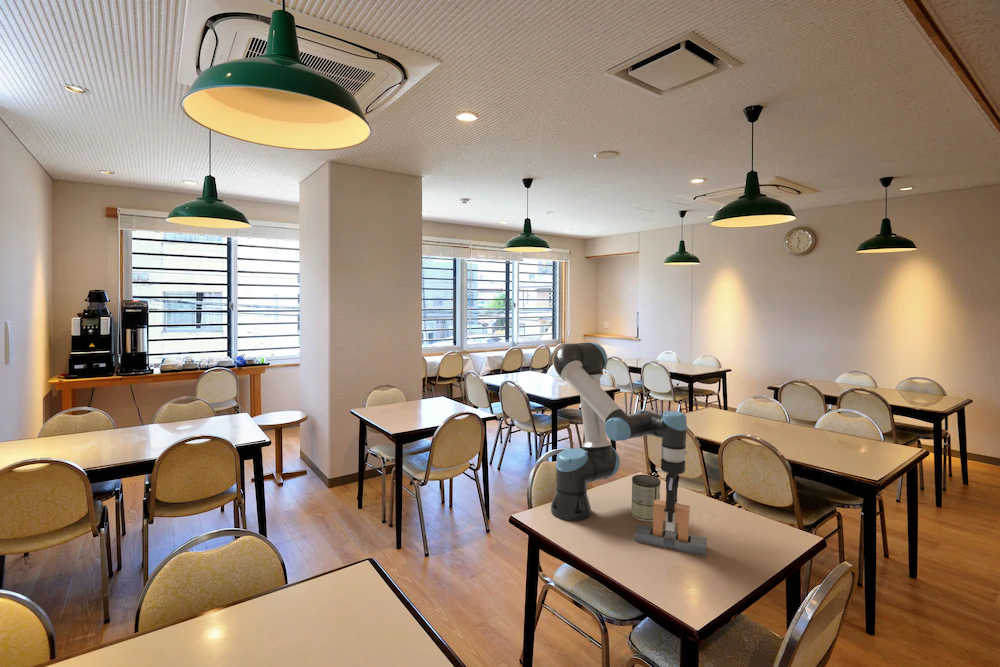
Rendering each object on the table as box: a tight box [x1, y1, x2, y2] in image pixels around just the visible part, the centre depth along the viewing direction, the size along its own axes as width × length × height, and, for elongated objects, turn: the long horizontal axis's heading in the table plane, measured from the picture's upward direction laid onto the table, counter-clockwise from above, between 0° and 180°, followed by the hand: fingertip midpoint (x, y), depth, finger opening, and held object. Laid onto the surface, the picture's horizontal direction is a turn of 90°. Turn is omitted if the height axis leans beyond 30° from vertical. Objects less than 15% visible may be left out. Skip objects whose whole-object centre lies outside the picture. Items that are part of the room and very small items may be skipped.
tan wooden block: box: [652, 499, 691, 542], centre depth 159 cm, size 11×4×12 cm, turn 64°
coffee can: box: [630, 474, 662, 523], centre depth 180 cm, size 10×10×14 cm
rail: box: [634, 523, 708, 558], centre depth 159 cm, size 22×7×3 cm, turn 64°
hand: (670, 527), depth 159 cm, fingers closed on tan wooden block, 3 cm apart
